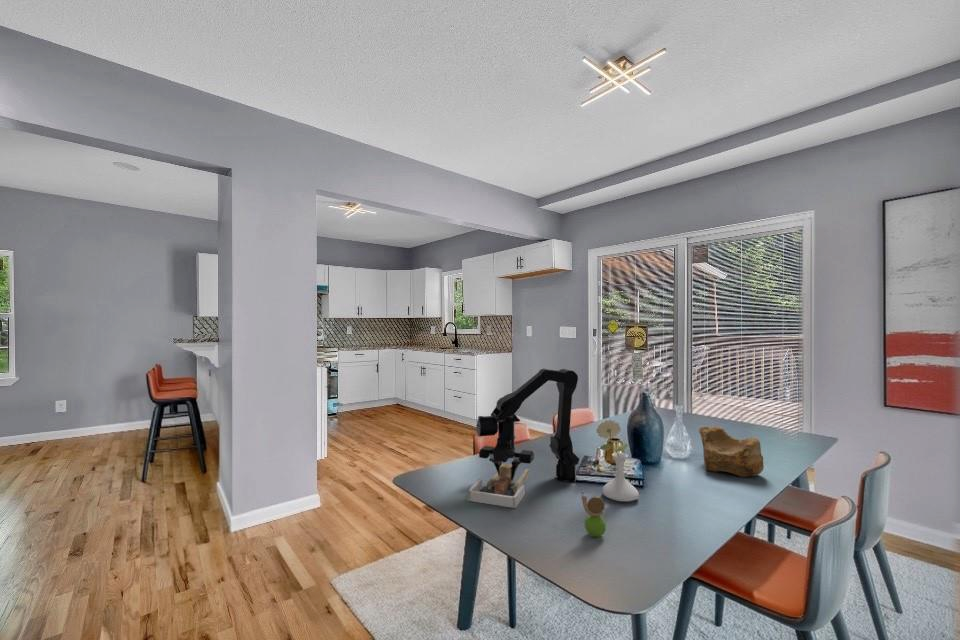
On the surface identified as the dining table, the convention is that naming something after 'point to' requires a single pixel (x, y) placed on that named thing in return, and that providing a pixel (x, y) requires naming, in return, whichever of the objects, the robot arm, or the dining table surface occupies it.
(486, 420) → the robot arm
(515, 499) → the tray
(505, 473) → the scraper
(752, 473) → the rough brown rock
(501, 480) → the brown cube
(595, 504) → the snail figurine
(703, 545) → the dining table surface
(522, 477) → the channel
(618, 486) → the flower in vase
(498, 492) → the chip
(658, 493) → the dining table surface
